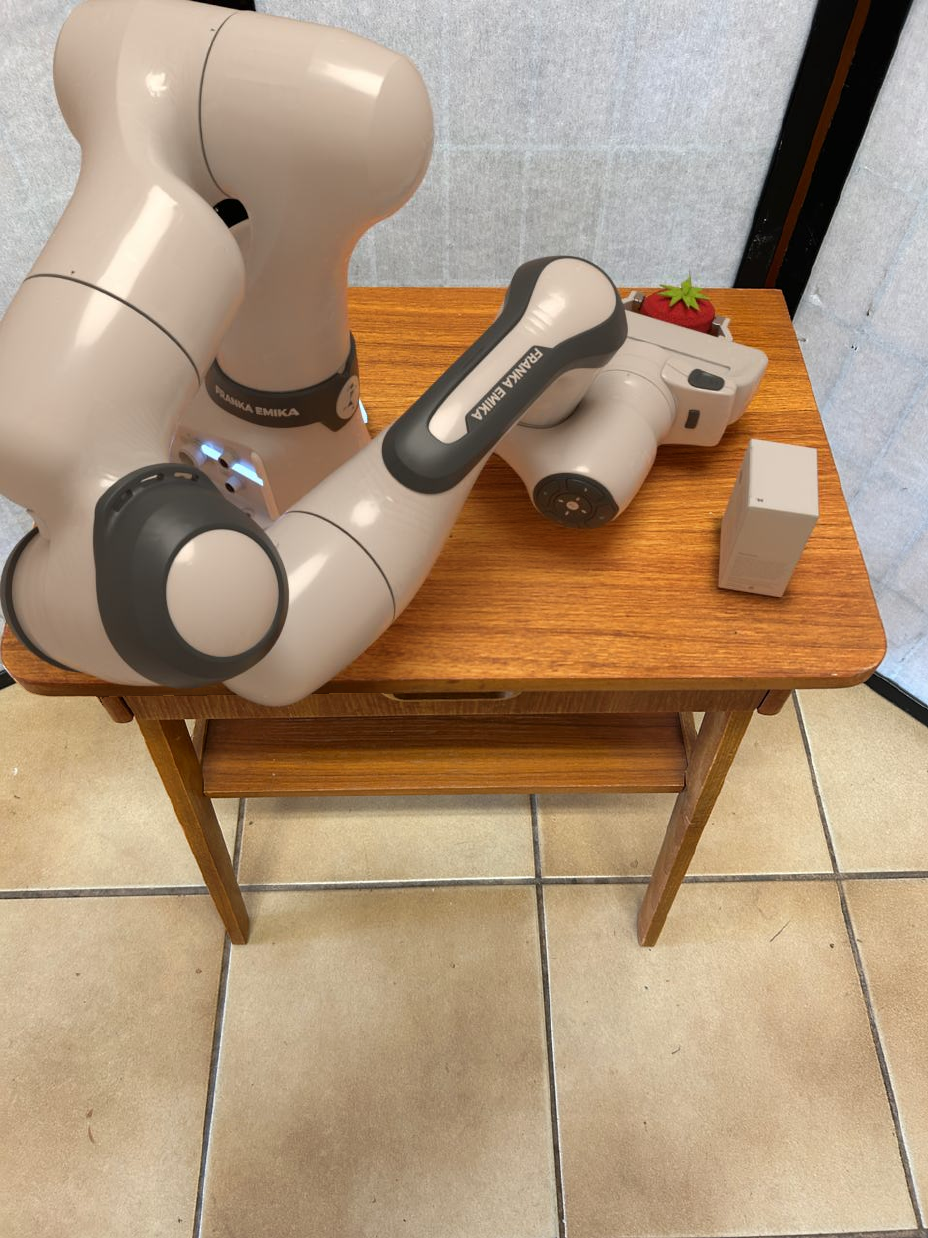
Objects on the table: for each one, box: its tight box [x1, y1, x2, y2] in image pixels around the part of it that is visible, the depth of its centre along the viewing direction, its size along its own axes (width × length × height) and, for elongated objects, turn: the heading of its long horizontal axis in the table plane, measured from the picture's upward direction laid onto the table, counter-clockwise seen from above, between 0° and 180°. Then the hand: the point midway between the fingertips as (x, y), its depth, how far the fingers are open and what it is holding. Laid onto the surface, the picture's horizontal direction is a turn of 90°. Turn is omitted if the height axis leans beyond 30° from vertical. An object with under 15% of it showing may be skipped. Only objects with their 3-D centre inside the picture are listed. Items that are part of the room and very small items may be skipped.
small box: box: [717, 438, 820, 598], centre depth 80 cm, size 8×6×10 cm
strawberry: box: [639, 269, 716, 334], centre depth 95 cm, size 6×8×10 cm
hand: (680, 310), depth 95 cm, fingers closed on strawberry, 7 cm apart
